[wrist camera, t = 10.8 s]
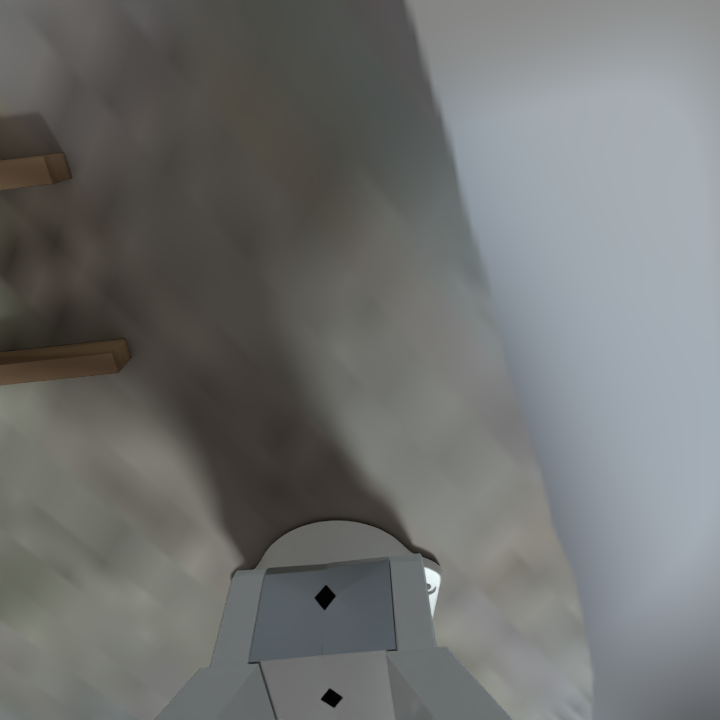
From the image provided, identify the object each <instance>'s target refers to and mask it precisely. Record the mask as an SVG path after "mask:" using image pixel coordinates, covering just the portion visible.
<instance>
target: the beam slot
mask: <svg viewBox="0 0 720 720" xmlns="http://www.w3.org/2000/svg"><path fill="white" fill-rule="evenodd" d="M71 178H72V177H71V174H70V171H69V168H68V165H67V162H66V159H65V156H64V153H56V154H47V155H39V156H31V157H22V158H14V159H5V160H0V190H4V189H13V188H21V187H30V186H38V185H47V184H54V183H57V182H61V181H64V180H67V179H71ZM130 358H131V355H130V352H129V349H128V346H127V343H126V340H125V339H117V340H108V341H99V342H89V343H80V344H71V345H62V346H52V347H43V348H34V349H24V350H15V351H6V352H0V385H7V384H17V383H26V382H36V381H45V380H55V379H64V378H74V377H83V376H93V375H102V374H112V373H119V372H120V370H121V369H122V368H123V367H124V366H125V364H126V363H127V362H128V361H129V360H130Z"/></svg>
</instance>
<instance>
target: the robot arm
mask: <svg viewBox="0 0 720 720" xmlns="http://www.w3.org/2000/svg"><path fill="white" fill-rule="evenodd" d="M440 583H441V569H440V566H439V565H438V564H437V563H435V562H433V561H431V560H429V559H427V558H424V557H422V556H421V554H420V553H419V554H413V553H412V552H410V551H409V550H408V549H407V548H406V547H405V546H403V545H402V544H401V543H400V542H399V541H398V540H397V539H395V538H394V537H393V536H391V535H389V534H388V533H386V532H384V531H382V530H380V529H378V528H375V527H373V526H370V525H366V524H362V523H358V522H351V521H323V522H317V523H312V524H308V525H305V526H302V527H299V528H297V529H294V530H292V531H290V532H288V533H287V534H285V535H283V536H282V537H280V538H279V539H278V540H277V541H275V542H274V543H273V544H272V545H271V546H270V547H269V549H268V550H267V551H266V553H265V554H264V556H263V557H262V559H261V561H260V562H259V564H258V565H257V567H256V568H255V569H253V570H239V571H236V573H235V575H234V576H233V578H232V580H231V584H230V587H229V591H228V595H227V599H226V603H225V607H224V611H223V615H222V619H221V623H220V627H219V631H218V635H217V639H216V643H215V647H214V651H213V655H212V659H211V663H210V667H209V668H201V669H199V670H198V671H197V672H196V673H195V674H194V675H193V677H192V678H191V679H190V680H189V681H188V682H187V683H186V684H185V686H184V687H183V688H182V689H181V690H180V691H179V692H178V694H177V695H176V696H175V697H174V698H173V699H172V700H171V701H170V703H169V704H168V705H167V706H166V707H165V708H164V709H163V710H162V712H161V713H160V714H159V715H158V716H157V717H156V718H155V719H154V720H512V719H511V718H510V716H509V715H508V714H507V713H506V712H505V711H504V710H503V709H502V707H501V706H500V705H499V704H498V703H497V702H496V701H495V700H494V699H493V697H492V696H491V695H490V694H489V693H488V692H487V691H486V690H485V689H484V687H483V686H482V685H481V684H480V683H479V682H478V681H477V680H476V678H475V677H474V676H473V675H472V674H471V673H470V672H469V671H468V670H467V668H466V667H465V666H464V665H463V664H462V663H461V662H460V661H459V660H458V658H457V657H456V656H455V655H454V654H453V653H452V652H451V651H450V649H449V648H448V647H437V646H436V639H435V633H434V626H433V615H434V611H435V606H436V601H437V597H438V592H439V587H440Z"/></svg>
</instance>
